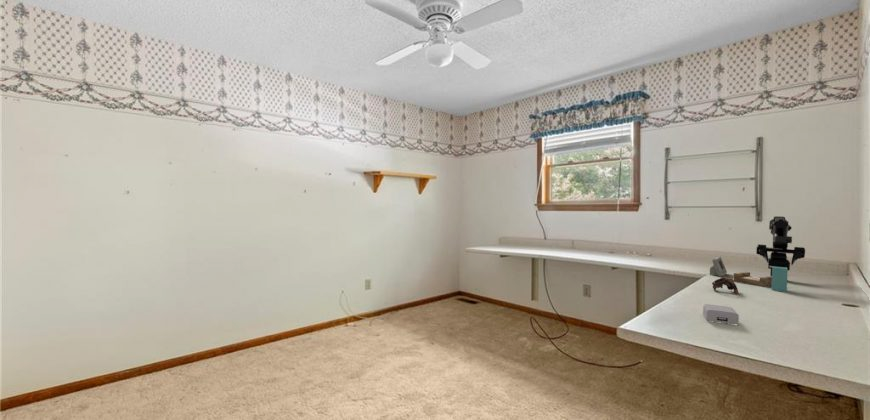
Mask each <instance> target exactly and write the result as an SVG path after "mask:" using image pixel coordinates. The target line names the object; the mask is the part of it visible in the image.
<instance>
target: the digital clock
mask: <svg viewBox="0 0 870 420" xmlns="http://www.w3.org/2000/svg"><path fill="white" fill-rule="evenodd" d="M711 261H712V263H713V265H712V266H710V268H709V275H711V276H715V275H716V276H717V277H720V278H723V277H724V276H725V275H726V274H727V273H728V272H727V268H726V266H725V264H724V262H723V260H722V257H721V256H716V257H714V258H713V259H711Z"/></svg>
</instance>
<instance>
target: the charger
mask: <svg viewBox="0 0 870 420" xmlns="http://www.w3.org/2000/svg"><path fill="white" fill-rule="evenodd" d="M702 307H703V308H702V309H703V310H702V314H703V316H704V318H705V320H706V321H707V322H708V321H713V322H712V323H714V322H721V323H720V324H722V323H729V324H738V325H739V320H740V319H739V317H740V316H739V314H738V313H737V311H736V309H734V308H733V307H731V306H728V305H727V306H726V305H718V304H708V303H706V304H705V303H704V304H703V306H702ZM729 324H728V325H729Z"/></svg>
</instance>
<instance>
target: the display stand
mask: <svg viewBox="0 0 870 420" xmlns="http://www.w3.org/2000/svg"><path fill="white" fill-rule="evenodd" d="M733 281H734V283H741V284H747V285H751V286H752V285H753V286H758V287H762V288H763V287H764V288H765V287H772V276H770V275H769V276H762V277H757V276H754V275H753V276H752V275H751V272H750V271H749V272H748V271H741V272H735V273H733Z"/></svg>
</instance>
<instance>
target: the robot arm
mask: <svg viewBox="0 0 870 420" xmlns="http://www.w3.org/2000/svg"><path fill="white" fill-rule="evenodd" d="M792 228H793V227H792V226H791V224H789V220H787V219H786V217H785V216H773V219H770V220H769V226H768V229H769V230H770V234H771V235H772V247H768V246H767V244H757V245H756V250H755V251H756V254H757V255H759V256H761V257H762V258H764V260H765V262H766V263H767V264H768V265H767V268H768V269H769V270H770V272H769V273H770V275H769V276H772V266H775V267H785V268H787V269H788V271H790V270H791V269H790V268H791V266H793V265H794V264H795V262H796V261H797V260H800V259H804V258H805V255H806V248H805V247H803V246H800V247H799V246H794V248H793V249H789V247H788V246H789V244H792V243H793V237H792V236H790V235H789V236H788V232H790V231H791V230H792ZM768 252H770V256H769V254H768ZM787 254H789V255H792V258H791V262H790V260H789V259H788V258H787V257H788V256H787ZM769 257H770V258H769ZM788 281H789V280H788V279H787V282H788Z"/></svg>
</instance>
